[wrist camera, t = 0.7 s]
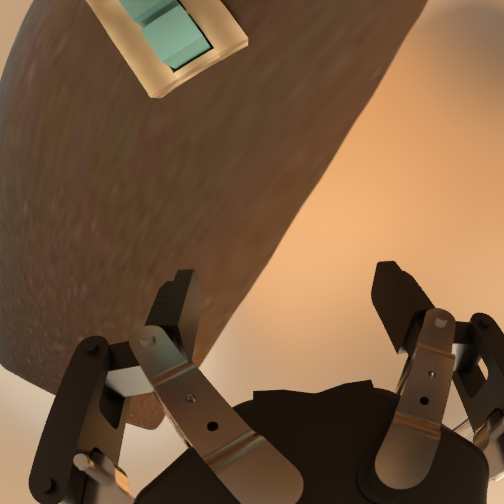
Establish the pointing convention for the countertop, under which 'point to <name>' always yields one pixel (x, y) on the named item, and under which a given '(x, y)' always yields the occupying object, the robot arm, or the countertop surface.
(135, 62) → the button board
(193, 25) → the button
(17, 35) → the countertop surface
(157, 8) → the button middle
